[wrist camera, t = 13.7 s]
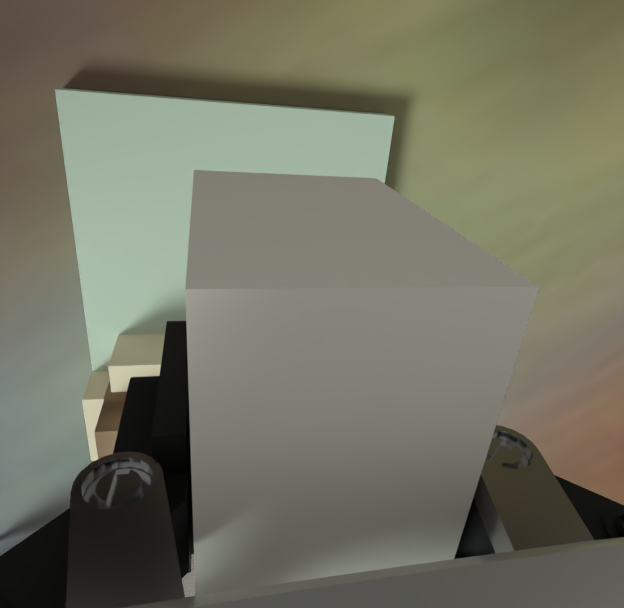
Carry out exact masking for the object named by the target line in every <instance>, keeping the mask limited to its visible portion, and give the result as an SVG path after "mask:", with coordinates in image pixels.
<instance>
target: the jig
mask: <svg viewBox="0 0 624 608" xmlns="http://www.w3.org/2000/svg"><path fill="white" fill-rule="evenodd" d="M55 94H56V101H57V109H58V116H59V124H60V131H61V139H62V146H63V154H64V161H65V169H66V176H67V184H68V191H69V199H70V206H71V214H72V221H73V229H74V236H75V244H76V251H77V259H78V266H79V274H80V281H81V289H82V296H83V304H84V311H85V319H86V326H87V334H88V341H89V349H90V356H91V364H92V371H93V372H92V374H91V377H90V380H89V383H88V385H87V388H86V391H85V394H84V396H83V399H82V402H83V409H84V416H85V422H86V429H87V436H88V443H89V449H90V456H91V461H96V460H98V455H97V448H96V440H95V433H94V432H95V428H96V425H97V422H98V418H99V415H100V412H101V408H102V405H103V402H104V398H105V395H106V392H107V388H108V385H109V382H110V386H111V392H127V389H128V385H129V381H130V378H131V377H145V376H159V375H160V368H161V361H162V353H163V346H164V338H165V331H166V323H167V321H186V297H185V286H186V272H187V258H188V244H189V231H190V217H191V203H192V190H193V176H194V170H206V171H228V172H249V173H271V174H293V175H315V176H337V177H359V178H377V179H378V180H380V181H381V182H383V183H384V184H385V178H386V172H387V165H388V158H389V152H390V145H391V139H392V132H393V125H394V119H395V116H392V115H389V114H382V113H370V112H357V111H345V110H332V109H319V108H307V107H294V106H282V105H269V104H257V103H244V102H231V101H219V100H206V99H194V98H181V97H169V96H156V95H143V94H131V93H118V92H106V91H93V90H81V89H68V88H60V89H55Z"/></svg>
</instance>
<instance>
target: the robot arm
mask: <svg viewBox="0 0 624 608" xmlns="http://www.w3.org/2000/svg"><path fill="white" fill-rule="evenodd" d="M191 554H194V539H193V509H192V478H191V448H190V418H189V388H188V358H187V327H186V321H167V323H166V331H165V338H164V346H163V353H162V361H161V368H160V375H159V376H145V377H131V378H130V381H129V385H128V389H127V394H126V398H125V403H124V407H123V411H122V416H121V420H120V425H119V429H118V433H117V438H116V442H115V447H114V451H113V454H110V455H107V456H104V457H102V458H100V459H98V460H96V461H94V462H92V463H90V464H89V465H88V466H87V467H86V468H84V469H83V470H82V471H81V472H80V473H79V475H78V476H77V478H76V479H75V480H74V482H73V486H72V490H71V499H70V508H69V509H68V510H66V511H65V512H64V513H62V514H61V515H59V516H58V517H56V518H55V519H53V520H52V521H51V522H49V523H48V524H46V525H45V526H43V527H42V528H40V529H39V530H38V531H36V532H35V533H33V534H32V535H30V536H29V537H27V538H26V539H25V540H23V541H22V542H20V543H19V544H17V545H16V546H14V547H13V548H12V549H10V550H9V551H7V552H6V553H4V554H3V555H1V556H0V608H624V505H621V504H619V503H617V502H614V501H612V500H610V499H608V498H605V497H603V496H601V495H599V494H596V493H594V492H592V491H589V490H587V489H585V488H583V487H580V486H578V485H576V484H573V483H571V482H569V481H567V480H564V479H562V478H560V477H557V476H555V475H554V474H553V472H552V471H551V469H550V467H549V466H548V464H547V463H546V461H545V459H544V458H543V456H542V455H541V453H540V451H539V450H538V449H537V447H536V446H535V445H534V444H533V443H532V442H531V441H530V440H529V439H527V438H526V437H525V436H524V435H522V434H520V433H518V432H516V431H514V430H512V429H509V428H506V427H503V426H498V425H496V427H495V431H494V434H493V437H492V440H491V443H490V446H489V450H488V453H487V456H486V459H485V462H484V466H483V469H482V472H481V475H480V478H479V481H478V485H477V488H476V491H475V494H474V497H473V500H472V504H471V507H470V510H469V513H468V516H467V520H466V523H465V526H464V529H463V532H462V535H461V539H460V542H459V545H458V548H457V551H456V554H455V558H454V559H451V560H444V561H436V562H429V563H422V564H415V565H408V566H401V567H393V568H386V569H379V570H372V571H365V572H358V573H351V574H344V575H337V576H330V577H323V578H316V579H309V580H302V581H295V582H289V583H282V584H275V585H268V586H261V587H254V588H248V589H241V590H234V591H227V592H220V593H213V594H207V595H200V596H193V597H186V598H185V595H184V590H183V584H182V578H183V577H184V576H185V575H186V574H187V573H189V572H191Z"/></svg>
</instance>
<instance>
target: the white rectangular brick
mask: <svg viewBox="0 0 624 608" xmlns="http://www.w3.org/2000/svg"><path fill="white" fill-rule="evenodd" d="M539 288H540V287H539V286H538V285H536V284H535V283H533V282H532V281H530V280H529V279H527V278H526V277H524V276H523V275H521V274H520V273H518V272H517V271H515V270H514V269H512V268H511V267H509V266H508V265H506V264H505V263H503V262H502V261H500V260H499V259H497V258H496V257H494V256H493V255H491V254H490V253H488V252H487V251H485V250H484V249H482V248H481V247H479V246H478V245H476V244H475V243H473V242H472V241H470V240H469V239H467V238H465V237H464V236H462V235H461V234H459V233H458V232H456V231H455V230H453V229H452V228H450V227H449V226H447V225H446V224H444V223H443V222H441V221H440V220H438V219H437V218H435V217H434V216H432V215H431V214H429V213H428V212H426V211H425V210H423V209H422V208H420V207H419V206H417V205H416V204H414V203H413V202H411V201H410V200H408V199H407V198H405V197H404V196H402V195H401V194H399V193H398V192H396V191H395V190H393V189H392V188H390V187H389V186H387V185H386V184H384V183H383V182H381V181H380V180H378V179H377V178H359V177H337V176H315V175H293V174H271V173H249V172H228V171H206V170H194V176H193V190H192V203H191V217H190V231H189V244H188V258H187V272H186V286H185V297H186V327H187V358H188V388H189V418H190V448H191V478H192V509H193V539H194V569H195V596H200V595H207V594H213V593H220V592H227V591H234V590H241V589H248V588H254V587H261V586H268V585H275V584H282V583H289V582H295V581H302V580H309V579H316V578H323V577H330V576H337V575H344V574H351V573H358V572H365V571H372V570H379V569H386V568H393V567H401V566H408V565H415V564H422V563H429V562H436V561H444V560H451V559H454V558H455V554H456V551H457V548H458V545H459V542H460V539H461V535H462V532H463V529H464V526H465V523H466V520H467V516H468V513H469V510H470V507H471V504H472V500H473V497H474V494H475V491H476V488H477V485H478V481H479V478H480V475H481V472H482V469H483V466H484V462H485V459H486V456H487V453H488V450H489V446H490V443H491V440H492V437H493V434H494V431H495V427H496V424H497V421H498V418H499V415H500V412H501V408H502V405H503V402H504V399H505V396H506V392H507V389H508V386H509V383H510V380H511V377H512V373H513V370H514V367H515V364H516V361H517V358H518V354H519V351H520V348H521V345H522V342H523V339H524V335H525V332H526V329H527V326H528V323H529V319H530V316H531V313H532V310H533V307H534V304H535V300H536V297H537V294H538V291H539Z"/></svg>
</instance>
